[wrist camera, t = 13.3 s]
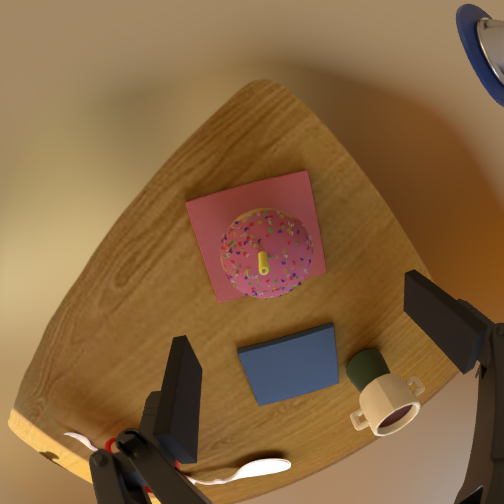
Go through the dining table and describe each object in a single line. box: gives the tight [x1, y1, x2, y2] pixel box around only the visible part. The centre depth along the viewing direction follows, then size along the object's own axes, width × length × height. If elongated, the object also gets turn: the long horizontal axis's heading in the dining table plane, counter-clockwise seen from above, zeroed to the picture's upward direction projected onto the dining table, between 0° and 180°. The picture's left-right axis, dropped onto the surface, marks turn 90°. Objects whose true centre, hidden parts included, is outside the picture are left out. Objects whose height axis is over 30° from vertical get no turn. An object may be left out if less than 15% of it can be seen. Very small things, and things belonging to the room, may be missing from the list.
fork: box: [65, 432, 98, 451], centre depth 42 cm, size 3×20×2 cm, turn 36°
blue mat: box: [237, 323, 339, 406], centre depth 37 cm, size 13×12×1 cm
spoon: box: [186, 458, 291, 485], centre depth 46 cm, size 9×32×4 cm, turn 113°
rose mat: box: [185, 170, 327, 303], centre depth 30 cm, size 13×12×1 cm
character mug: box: [346, 349, 425, 436], centre depth 32 cm, size 11×7×13 cm, turn 120°
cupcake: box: [219, 208, 314, 299], centre depth 24 cm, size 9×8×12 cm
